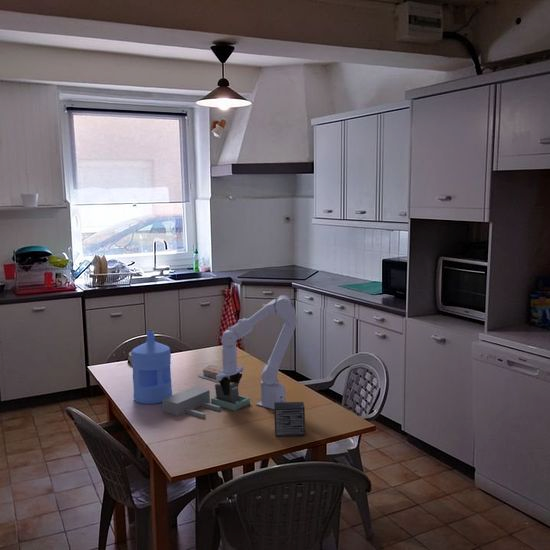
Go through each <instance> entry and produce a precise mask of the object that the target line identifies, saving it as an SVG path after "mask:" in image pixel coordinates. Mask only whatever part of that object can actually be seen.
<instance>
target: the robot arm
mask: <svg viewBox="0 0 550 550" xmlns="http://www.w3.org/2000/svg"><path fill="white" fill-rule="evenodd" d="M277 314H278V315H279V316H280V317H281V318H282V320H283V323H284V324H283V326H282V327H281V328H282V329H281V331H280V333H279V335H278V338H277V341H276V342H275V344H274V348H273V350H272V352H271V355H270V357H269V359H268V361H267V362H266V363H265V364H264V365H263V367H262V370H261V377H260V378H261V380H260V401H259V402H256V405H257V406H259V407H260V406H261V407H264V408H266V409H267V408H268V409H271V410H274V403H276V402H286V387H285V386H284V385H282V384H281V383H280V380H279V379H278V372H279V369H280V366H281V363H282V360H283V358H284V356H285V353H286V351H287V348H288V347H289V344H290V341H291V339H292V337H293V334H294V331H295V329H296V327H297V324H298V318H297V314H296V310H295V304H294V303H293V300H292V299H291V298H290V297H289V296H288V295H286V294H282V295H279V296H277V297H276V298H274V299H272V300H271V301H269V302H268V303H266V304H265V305H264V306H262V308H260V309H259V310H258V311H256V312H255V313H254V314H253V315H251V316H250V317H249V318H245V317H243V318H242V319H241V318H240V319H238V320H237V322H236V324H234V325H232V326H229V327H228V328H227V329H225V331H224V332H223V333H222V335H221V340H220V341H221V344H222V349H221V350H222V351H221V353H222V354H221V355H222V368H223V369H222V370H221V372H220V373H219V374H218V375H216V380H218V381H219V383H220V385H221V387H222V390H223V393H224V395H227V396H228V395H229V387H230V383H231V382H234V383H237V385H238V386H239V385H240V381H241V379H242V377H243V372H244V366H241V365H239V366H238V353H237V352H238V351H237V341H238V340H240V339H242V338H243V337H245V336H246V335H247V334H250V332H252V331H253V328H254V325H256V324H257V323H259V322H260V321H262V320H264V318H267V317H268V316H269V315H270V316H271V315H274V316H275V315H277ZM227 377H230V379H228V378H227Z"/></svg>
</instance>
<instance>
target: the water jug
mask: <svg viewBox="0 0 550 550" xmlns="http://www.w3.org/2000/svg"><path fill="white" fill-rule="evenodd" d="M131 351H132V365H133V367H132V381H133V382H132V383H133V386H132V387H133V400H134V401H135V402H136V403H139V404H142V405H143V404H144V405H156V404H161V403H162V404H163V399H164V398H167V397H170V396H172V395H173V389H172V374H171V373H172V372H171V365H172V363H171V357H172V355H171V354H172V353H171V348H170V346H168V345H166V344H165V343H164V344H163V343H160V342H157V341H156V340H155V331H153V330H151V331H146V342H144V343H142V344H140V345H138V346H136V347H134V348H133V349H132V350H131Z"/></svg>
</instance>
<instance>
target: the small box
mask: <svg viewBox="0 0 550 550" xmlns="http://www.w3.org/2000/svg"><path fill="white" fill-rule="evenodd" d="M305 410H306V407H305V404H304V401H285V402H276V403H274V409H273V411H274V435H275V437H277V438H278V437H280V438H281V437H283V436H285V437H305V436H306V419H305V417H306V415H305V414H306V413H305ZM283 438H284V437H283Z"/></svg>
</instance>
